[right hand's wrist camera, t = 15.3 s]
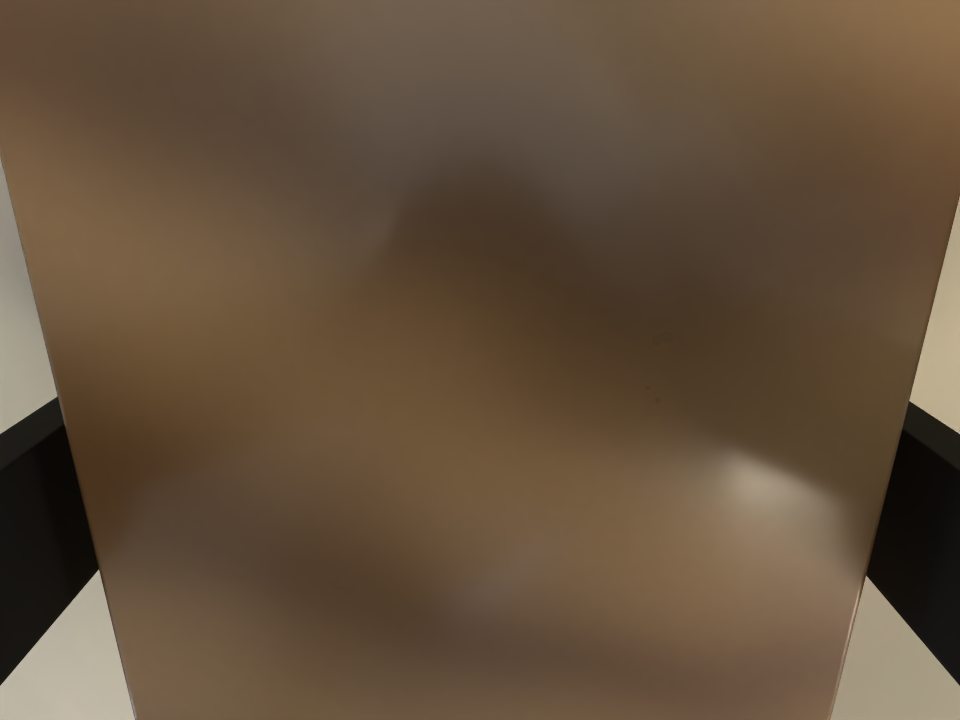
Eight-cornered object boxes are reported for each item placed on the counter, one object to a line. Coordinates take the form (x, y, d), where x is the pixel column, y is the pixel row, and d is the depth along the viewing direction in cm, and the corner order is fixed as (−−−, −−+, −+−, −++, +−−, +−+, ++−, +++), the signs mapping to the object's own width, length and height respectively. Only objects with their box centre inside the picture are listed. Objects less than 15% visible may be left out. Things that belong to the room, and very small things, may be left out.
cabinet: (189, -410, 12) (-393, -1460, 4) (779, -410, 12) (1376, -1461, 4) (289, 483, 19) (143, 766, 10) (673, 484, 19) (821, 767, 10)
